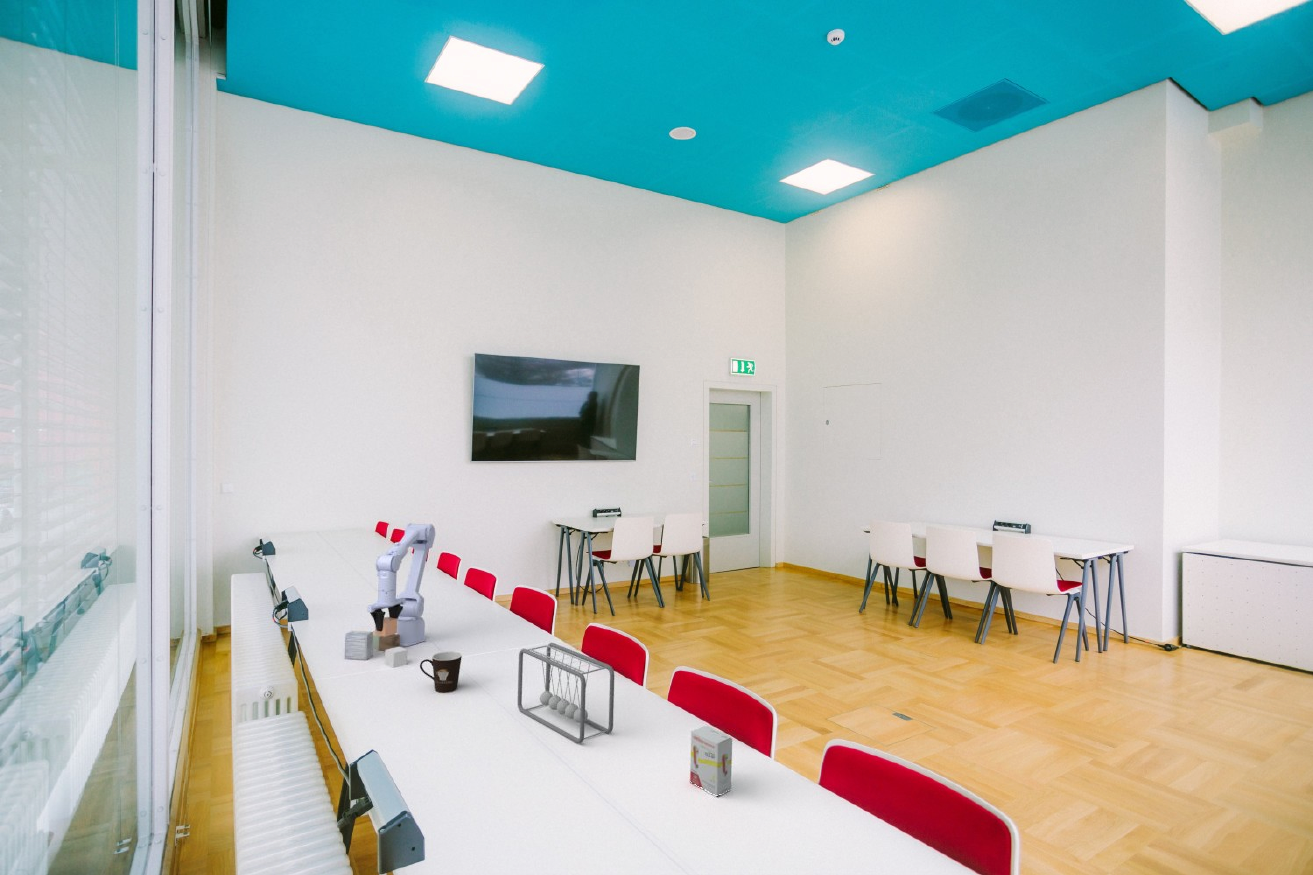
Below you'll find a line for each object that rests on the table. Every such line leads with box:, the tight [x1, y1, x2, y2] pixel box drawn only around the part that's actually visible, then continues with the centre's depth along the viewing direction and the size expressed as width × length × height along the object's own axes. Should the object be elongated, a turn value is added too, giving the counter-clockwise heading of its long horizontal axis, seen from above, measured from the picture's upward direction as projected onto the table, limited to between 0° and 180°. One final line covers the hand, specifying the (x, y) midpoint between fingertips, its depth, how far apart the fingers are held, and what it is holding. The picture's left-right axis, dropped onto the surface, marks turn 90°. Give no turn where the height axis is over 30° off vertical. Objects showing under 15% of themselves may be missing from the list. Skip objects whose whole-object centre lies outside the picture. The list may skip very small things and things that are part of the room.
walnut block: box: [378, 633, 401, 653], centre depth 243 cm, size 5×5×5 cm
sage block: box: [372, 630, 380, 650], centre depth 246 cm, size 5×5×5 cm
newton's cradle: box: [517, 642, 615, 745], centre depth 184 cm, size 30×10×18 cm, turn 43°
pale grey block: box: [384, 646, 409, 669], centre depth 227 cm, size 5×5×5 cm
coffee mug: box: [419, 651, 463, 694], centre depth 206 cm, size 12×9×10 cm
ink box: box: [689, 725, 733, 795], centre depth 151 cm, size 9×5×12 cm, turn 42°
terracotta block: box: [374, 616, 397, 637], centre depth 235 cm, size 5×5×5 cm
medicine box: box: [344, 630, 374, 661], centre depth 233 cm, size 8×4×9 cm, turn 84°
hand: (386, 628), depth 235 cm, fingers closed on terracotta block, 5 cm apart
